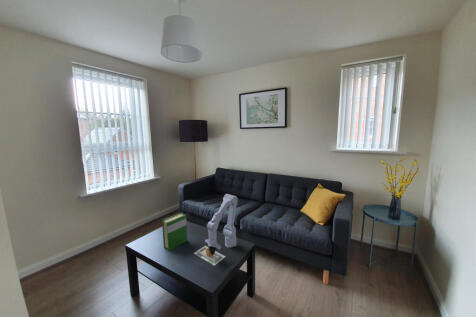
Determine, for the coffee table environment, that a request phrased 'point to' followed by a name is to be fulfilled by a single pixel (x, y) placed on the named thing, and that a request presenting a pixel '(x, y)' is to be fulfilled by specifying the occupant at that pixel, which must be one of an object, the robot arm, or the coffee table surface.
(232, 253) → the coffee table surface
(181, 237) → the hardback book
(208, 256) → the lever
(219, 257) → the white flat tray
